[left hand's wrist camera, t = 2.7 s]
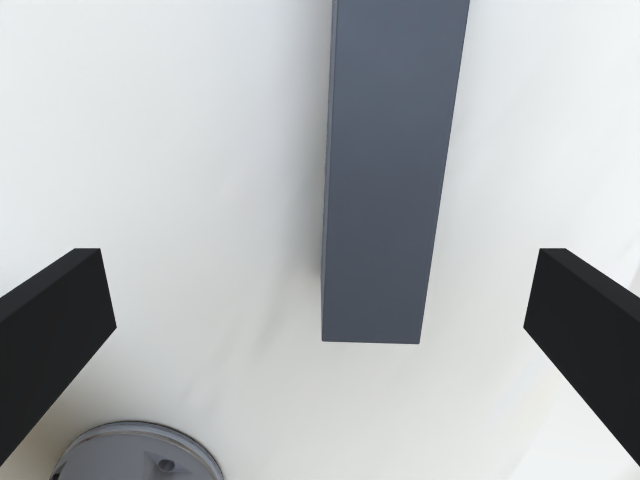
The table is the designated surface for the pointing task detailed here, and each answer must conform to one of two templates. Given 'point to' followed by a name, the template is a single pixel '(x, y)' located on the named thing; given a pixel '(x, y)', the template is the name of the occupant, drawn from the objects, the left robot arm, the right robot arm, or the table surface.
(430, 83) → the post
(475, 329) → the table surface
